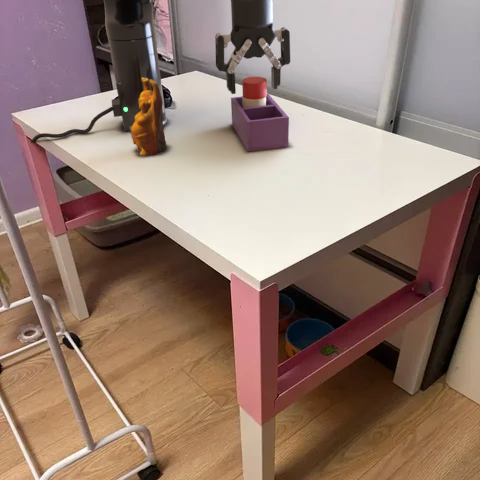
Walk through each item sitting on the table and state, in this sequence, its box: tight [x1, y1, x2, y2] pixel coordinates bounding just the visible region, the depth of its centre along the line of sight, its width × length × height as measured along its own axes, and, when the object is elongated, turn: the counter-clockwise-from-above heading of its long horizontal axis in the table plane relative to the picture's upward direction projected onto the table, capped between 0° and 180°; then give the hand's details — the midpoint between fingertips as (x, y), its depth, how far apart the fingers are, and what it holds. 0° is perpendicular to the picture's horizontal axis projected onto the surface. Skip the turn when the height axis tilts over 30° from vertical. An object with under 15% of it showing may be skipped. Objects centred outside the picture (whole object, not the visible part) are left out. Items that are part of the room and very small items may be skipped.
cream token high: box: [241, 95, 266, 108], centre depth 103 cm, size 5×5×3 cm
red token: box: [241, 76, 268, 100], centre depth 101 cm, size 5×5×3 cm
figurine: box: [130, 78, 168, 157], centre depth 95 cm, size 6×7×13 cm
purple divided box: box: [230, 93, 290, 153], centre depth 102 cm, size 8×15×6 cm, turn 12°
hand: (253, 90), depth 101 cm, fingers open, 8 cm apart
